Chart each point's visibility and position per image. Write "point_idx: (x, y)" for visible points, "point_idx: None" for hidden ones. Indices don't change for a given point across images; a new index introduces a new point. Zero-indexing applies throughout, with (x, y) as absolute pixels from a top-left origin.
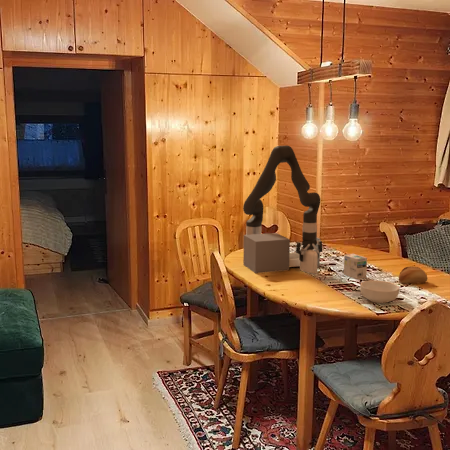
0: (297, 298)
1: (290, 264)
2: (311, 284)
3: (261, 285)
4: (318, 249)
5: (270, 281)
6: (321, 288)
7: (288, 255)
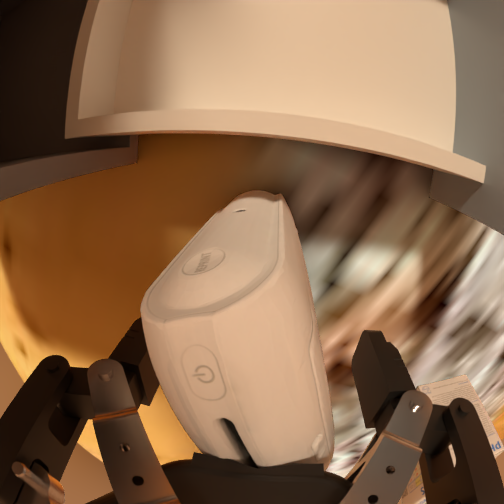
0: (96, 448)
1: (141, 133)
2: (164, 428)
3: (6, 338)
4: (446, 431)
5: (22, 322)
6: (184, 456)
7: (29, 188)
